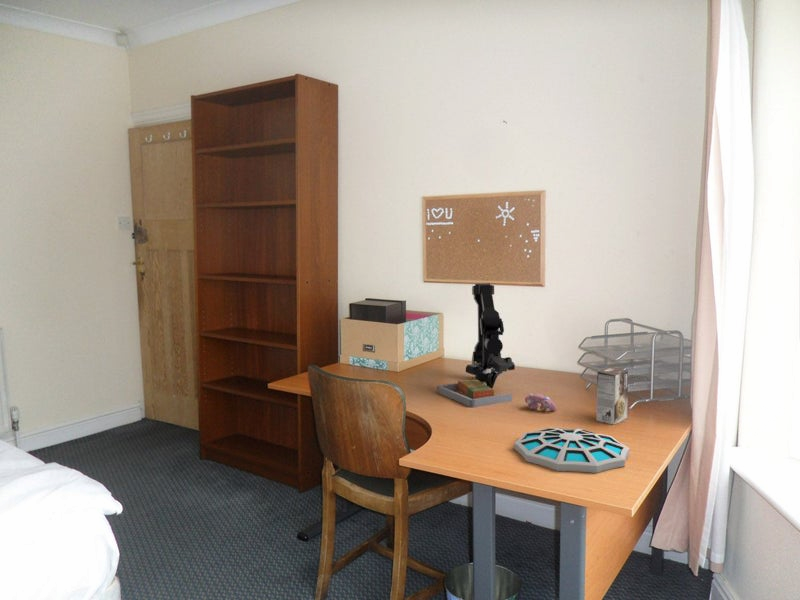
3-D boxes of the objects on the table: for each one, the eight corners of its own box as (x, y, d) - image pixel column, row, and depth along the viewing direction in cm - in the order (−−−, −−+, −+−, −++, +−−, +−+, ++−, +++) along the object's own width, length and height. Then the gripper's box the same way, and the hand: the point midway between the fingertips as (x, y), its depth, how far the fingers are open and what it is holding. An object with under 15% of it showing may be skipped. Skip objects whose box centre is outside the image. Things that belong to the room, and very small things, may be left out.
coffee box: (608, 414, 202) (610, 366, 201) (627, 418, 198) (629, 369, 196) (595, 420, 196) (596, 371, 194) (614, 425, 191) (615, 374, 190)
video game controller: (526, 412, 212) (521, 396, 209) (532, 403, 214) (528, 388, 211) (552, 417, 205) (548, 401, 202) (558, 408, 208) (554, 392, 205)
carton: (477, 389, 238) (477, 378, 237) (494, 400, 222) (494, 388, 222) (457, 391, 236) (457, 380, 235) (472, 402, 220) (473, 390, 220)
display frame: (436, 392, 233) (436, 385, 232) (474, 386, 241) (474, 380, 240) (471, 407, 212) (471, 400, 212) (511, 400, 220) (511, 394, 220)
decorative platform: (493, 453, 169) (493, 435, 169) (550, 428, 190) (550, 413, 189) (596, 484, 148) (597, 464, 147) (649, 453, 168) (649, 435, 167)
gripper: (482, 355, 217) (482, 398, 218) (524, 349, 225) (523, 391, 227) (464, 349, 226) (464, 391, 228) (505, 345, 235) (505, 385, 237)
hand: (490, 389), depth 230 cm, fingers closed
